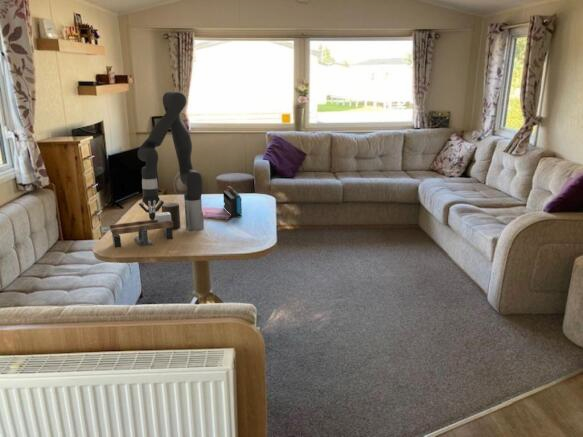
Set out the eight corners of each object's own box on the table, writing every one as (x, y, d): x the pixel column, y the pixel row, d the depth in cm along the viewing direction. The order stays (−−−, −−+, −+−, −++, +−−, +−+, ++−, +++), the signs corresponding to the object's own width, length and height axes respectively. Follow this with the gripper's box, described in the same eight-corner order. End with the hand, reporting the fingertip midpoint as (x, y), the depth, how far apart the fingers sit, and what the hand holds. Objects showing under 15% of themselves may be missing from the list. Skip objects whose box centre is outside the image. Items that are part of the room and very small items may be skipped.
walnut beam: (169, 222, 252) (168, 217, 251) (173, 226, 245) (173, 221, 244) (110, 229, 238) (109, 224, 238) (112, 235, 231) (112, 229, 230)
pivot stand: (167, 233, 256) (166, 216, 253) (174, 241, 244) (173, 224, 241) (112, 241, 243) (110, 224, 240) (116, 250, 231) (114, 232, 228)
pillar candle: (176, 230, 260) (174, 204, 256) (159, 229, 262) (158, 203, 258) (183, 225, 269) (182, 200, 265) (167, 224, 271) (165, 199, 267)
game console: (243, 218, 283) (242, 195, 279) (233, 219, 281) (232, 196, 277) (232, 206, 308) (231, 184, 304) (222, 207, 306) (221, 185, 302)
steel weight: (169, 220, 249) (168, 211, 248) (171, 223, 245) (171, 214, 244) (155, 222, 246) (155, 213, 245) (158, 225, 242) (157, 216, 240)
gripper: (161, 184, 244) (163, 216, 249) (135, 186, 238) (137, 219, 243) (165, 187, 237) (167, 219, 243) (138, 189, 231) (140, 223, 236)
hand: (152, 219), depth 243 cm, fingers closed
